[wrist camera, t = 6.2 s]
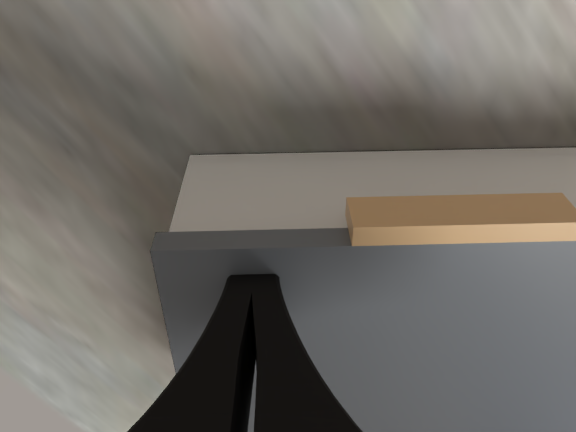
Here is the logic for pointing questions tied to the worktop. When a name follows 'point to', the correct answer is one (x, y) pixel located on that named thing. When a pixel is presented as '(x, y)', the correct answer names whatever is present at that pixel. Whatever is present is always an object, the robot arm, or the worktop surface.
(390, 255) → the lid
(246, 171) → the storage box
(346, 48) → the worktop surface
